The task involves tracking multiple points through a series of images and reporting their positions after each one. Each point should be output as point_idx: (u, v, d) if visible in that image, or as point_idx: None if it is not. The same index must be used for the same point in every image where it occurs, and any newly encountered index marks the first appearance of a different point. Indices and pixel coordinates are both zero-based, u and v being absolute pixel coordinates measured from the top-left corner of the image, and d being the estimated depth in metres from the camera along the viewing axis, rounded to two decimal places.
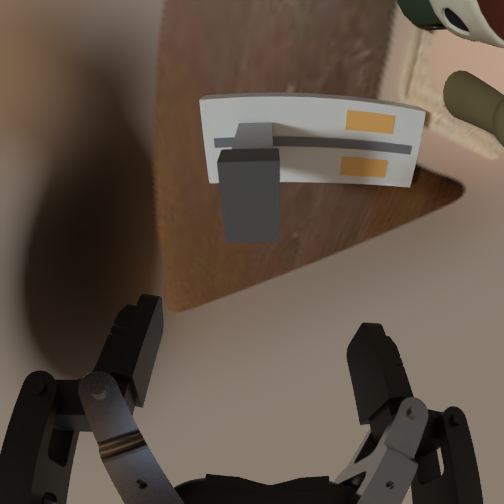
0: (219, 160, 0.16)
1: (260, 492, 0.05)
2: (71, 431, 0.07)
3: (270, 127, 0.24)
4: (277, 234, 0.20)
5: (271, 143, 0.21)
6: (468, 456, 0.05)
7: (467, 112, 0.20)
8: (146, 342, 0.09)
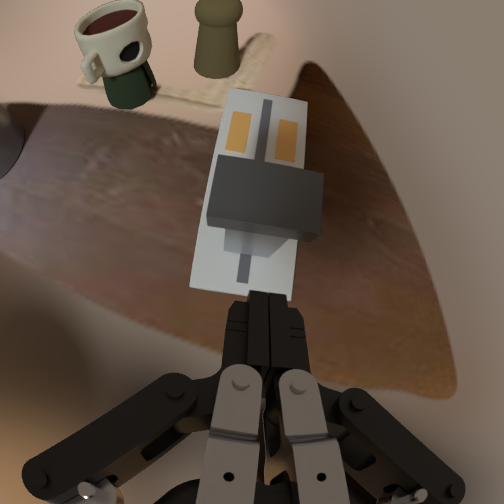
0: None
1: (260, 492, 0.05)
2: (178, 436, 0.07)
3: None
4: (313, 172, 0.16)
5: None
6: (394, 431, 0.07)
7: (224, 53, 0.28)
8: None
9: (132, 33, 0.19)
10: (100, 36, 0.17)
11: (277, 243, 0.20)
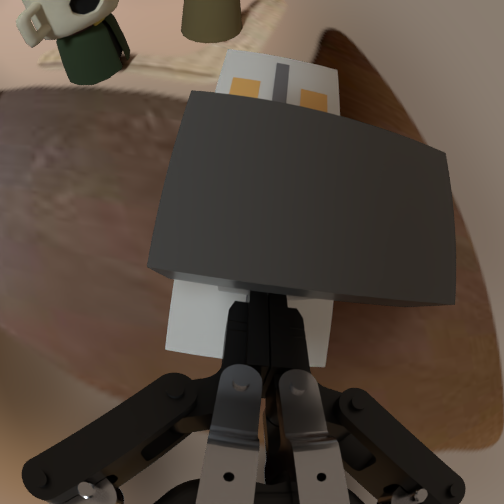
0: None
1: (260, 492, 0.05)
2: (178, 435, 0.07)
3: None
4: (426, 148, 0.06)
5: None
6: (394, 431, 0.07)
7: (221, 7, 0.18)
8: None
9: None
10: None
11: None
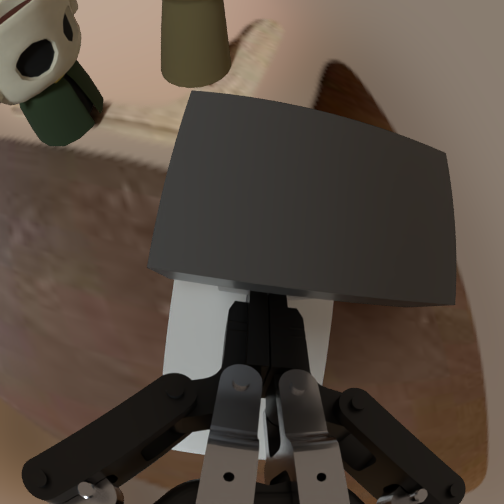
0: None
1: (260, 492, 0.05)
2: (178, 436, 0.07)
3: None
4: (426, 148, 0.06)
5: None
6: (394, 431, 0.07)
7: (203, 46, 0.17)
8: None
9: (30, 28, 0.07)
10: None
11: None
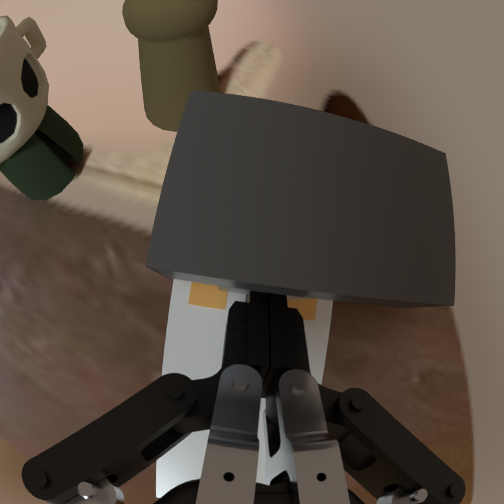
0: None
1: (260, 492, 0.05)
2: (178, 436, 0.07)
3: None
4: (426, 148, 0.06)
5: None
6: (394, 431, 0.07)
7: (187, 88, 0.16)
8: None
9: None
10: None
11: None
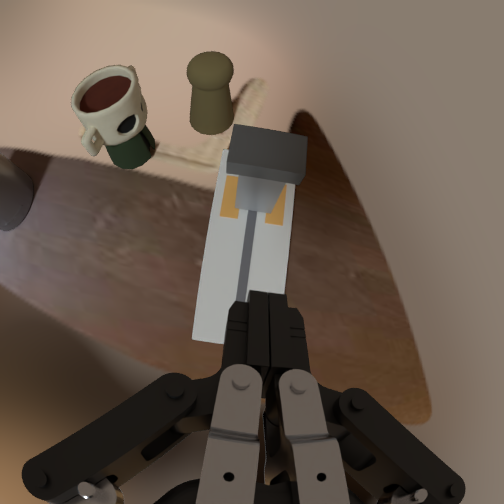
0: (226, 162, 0.21)
1: (260, 492, 0.05)
2: (178, 436, 0.07)
3: None
4: (299, 136, 0.22)
5: None
6: (394, 431, 0.07)
7: (217, 112, 0.32)
8: None
9: (127, 109, 0.23)
10: (96, 115, 0.21)
11: (276, 192, 0.26)
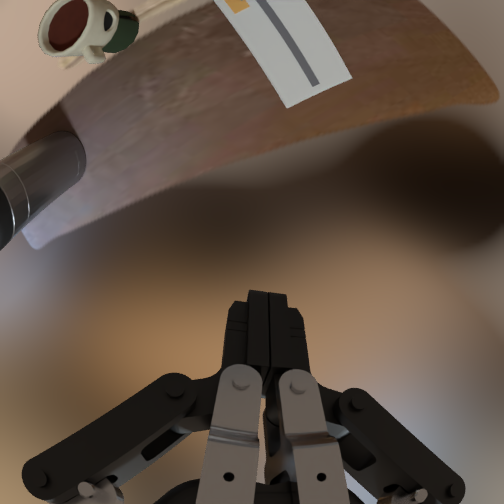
0: None
1: (260, 492, 0.05)
2: (178, 436, 0.07)
3: None
4: None
5: None
6: (394, 431, 0.07)
7: None
8: None
9: (99, 13, 0.17)
10: (83, 38, 0.17)
11: None
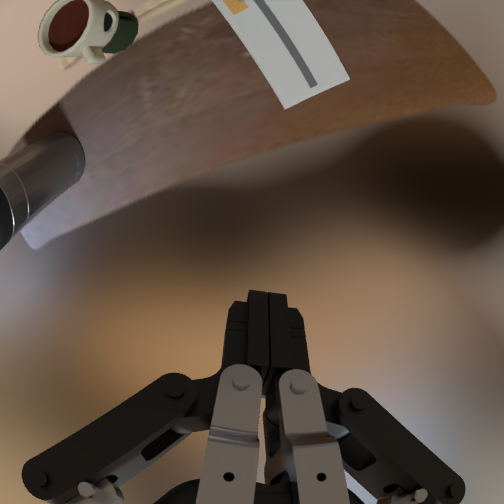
0: None
1: (260, 492, 0.05)
2: (178, 436, 0.07)
3: None
4: None
5: None
6: (394, 431, 0.07)
7: None
8: None
9: (99, 14, 0.17)
10: (83, 38, 0.17)
11: None
